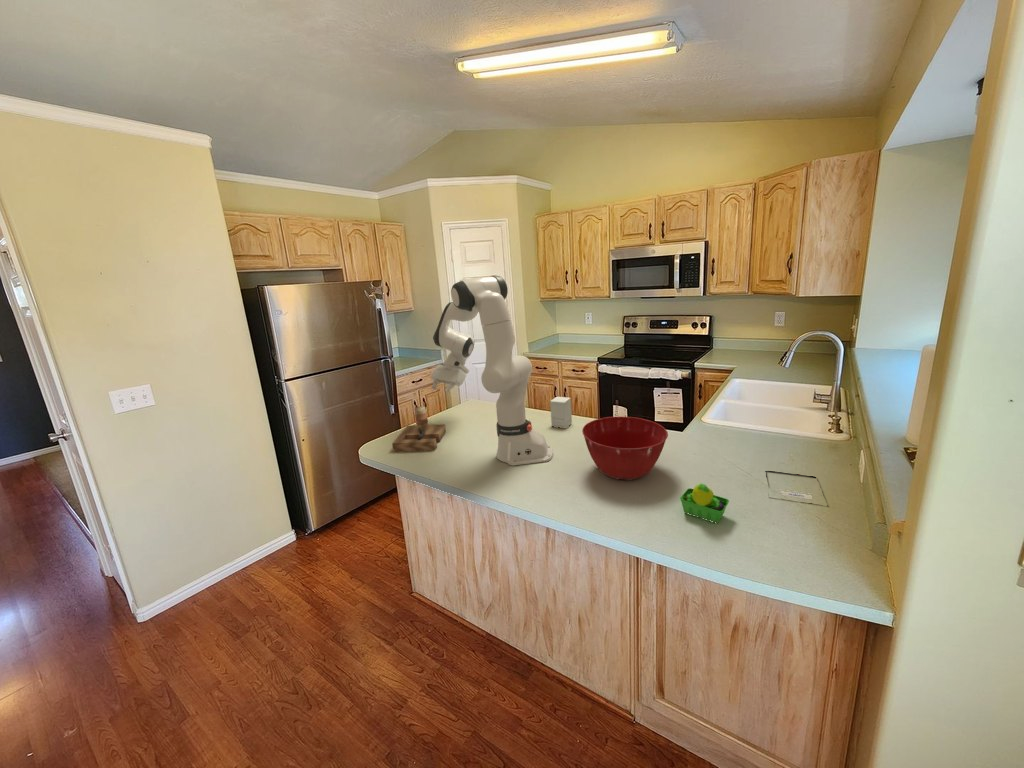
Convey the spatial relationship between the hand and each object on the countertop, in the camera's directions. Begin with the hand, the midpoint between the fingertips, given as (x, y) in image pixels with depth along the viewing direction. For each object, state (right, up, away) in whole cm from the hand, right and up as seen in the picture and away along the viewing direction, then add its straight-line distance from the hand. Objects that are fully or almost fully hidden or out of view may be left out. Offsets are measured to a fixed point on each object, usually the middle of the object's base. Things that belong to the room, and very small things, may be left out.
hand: (439, 390), depth 196 cm
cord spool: (-7, -17, -4) cm, 19 cm away
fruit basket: (+88, -35, -75) cm, 121 cm away
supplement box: (+57, -16, -1) cm, 59 cm away
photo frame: (+121, -30, -65) cm, 140 cm away
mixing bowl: (+73, -28, -47) cm, 91 cm away
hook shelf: (-7, -23, -8) cm, 25 cm away
